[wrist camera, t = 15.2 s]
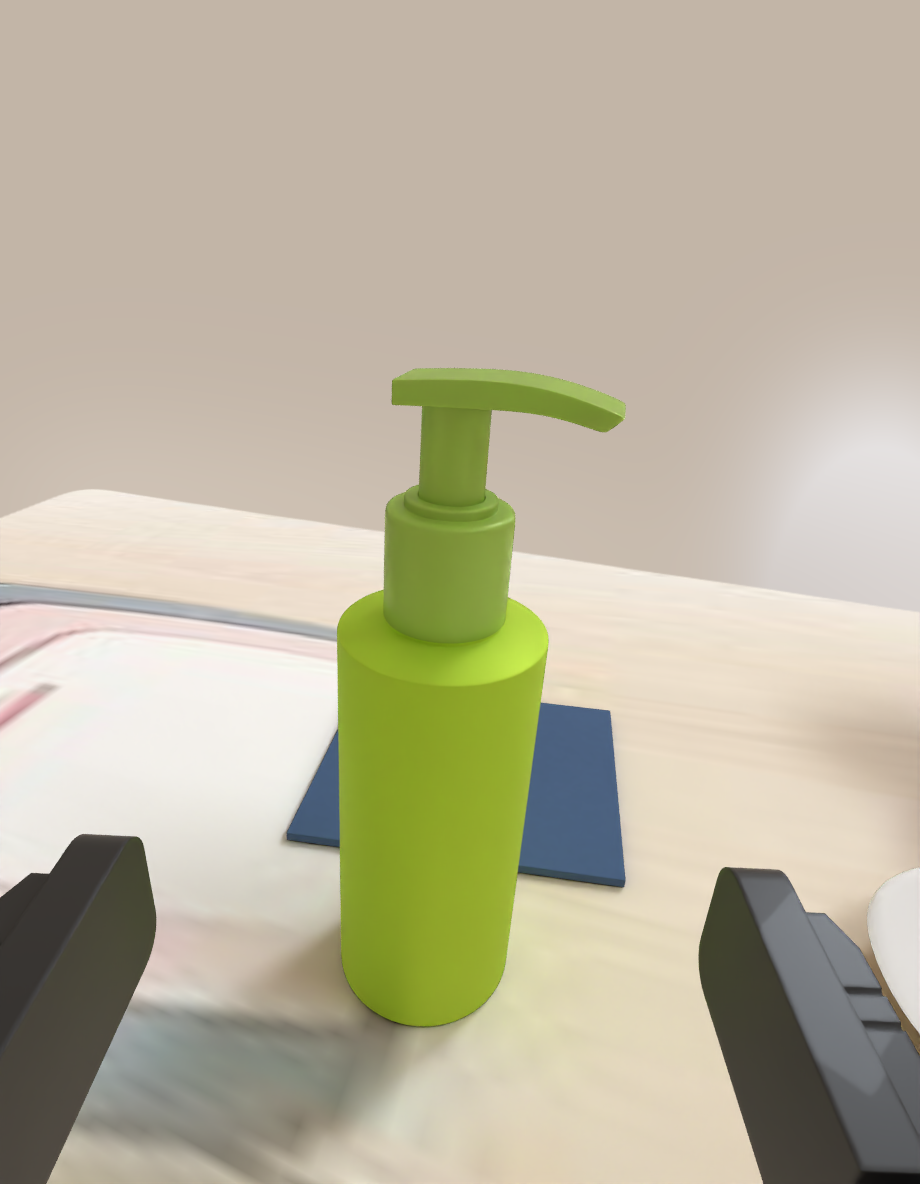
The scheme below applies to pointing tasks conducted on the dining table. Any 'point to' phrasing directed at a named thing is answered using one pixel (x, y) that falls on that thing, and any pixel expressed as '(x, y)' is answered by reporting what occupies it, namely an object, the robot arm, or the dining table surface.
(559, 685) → the dining table surface
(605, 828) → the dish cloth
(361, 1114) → the dining table surface
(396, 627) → the soap dispenser
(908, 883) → the spoon
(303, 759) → the dining table surface
